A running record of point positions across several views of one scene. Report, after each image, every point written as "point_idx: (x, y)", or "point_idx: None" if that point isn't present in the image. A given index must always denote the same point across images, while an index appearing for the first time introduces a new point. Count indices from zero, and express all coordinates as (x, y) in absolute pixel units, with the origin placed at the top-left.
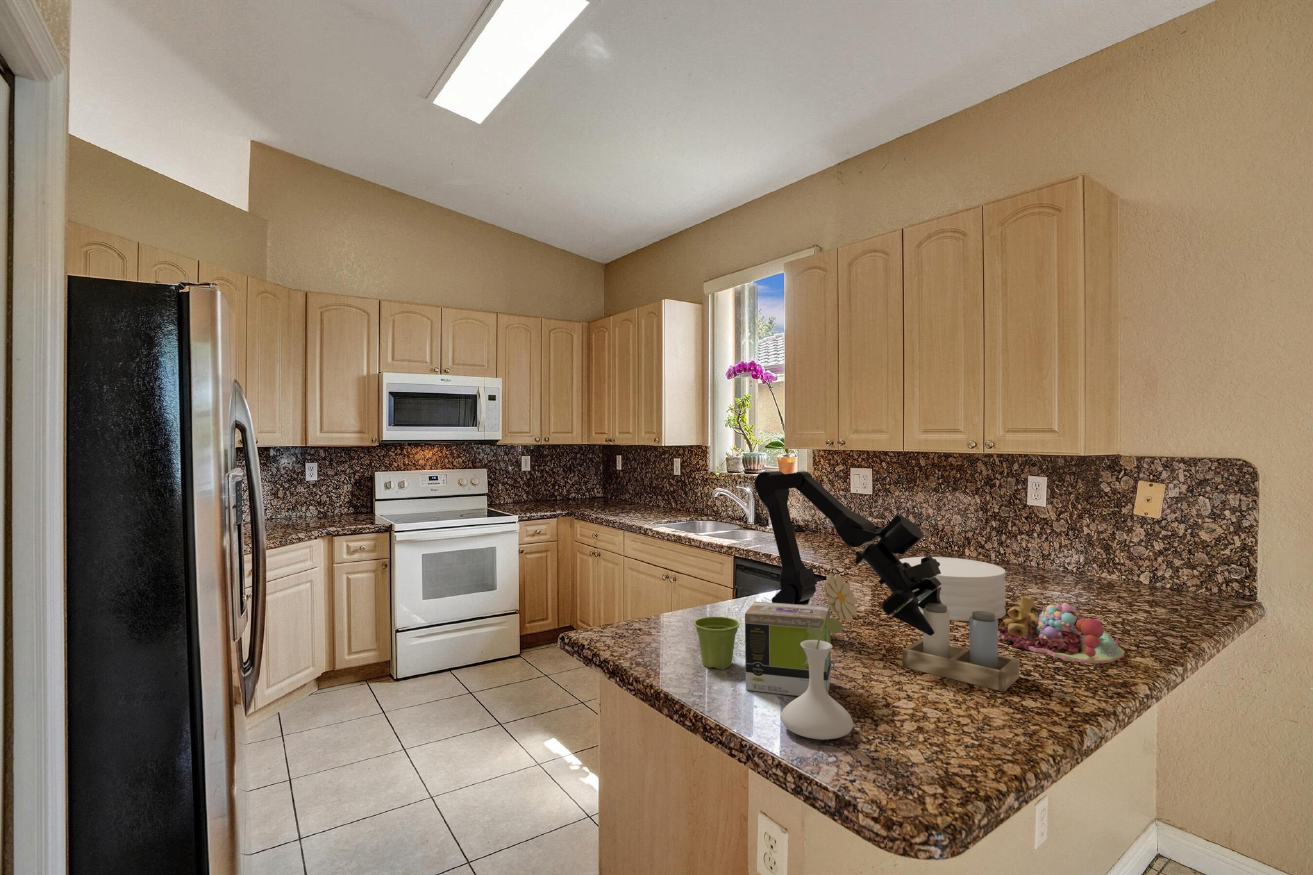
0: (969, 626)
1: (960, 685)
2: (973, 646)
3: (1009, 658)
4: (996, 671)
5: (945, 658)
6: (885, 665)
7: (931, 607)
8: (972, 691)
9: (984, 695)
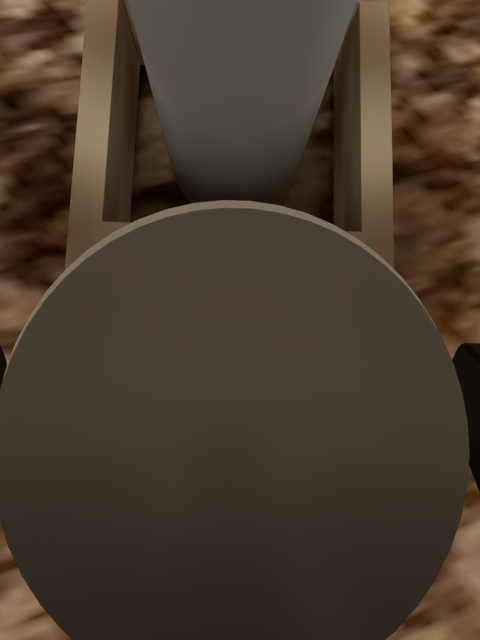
0: (308, 1)
1: (414, 215)
2: (324, 85)
3: (112, 2)
4: (387, 14)
5: None
6: (407, 618)
7: (461, 468)
8: (448, 156)
9: (457, 106)
